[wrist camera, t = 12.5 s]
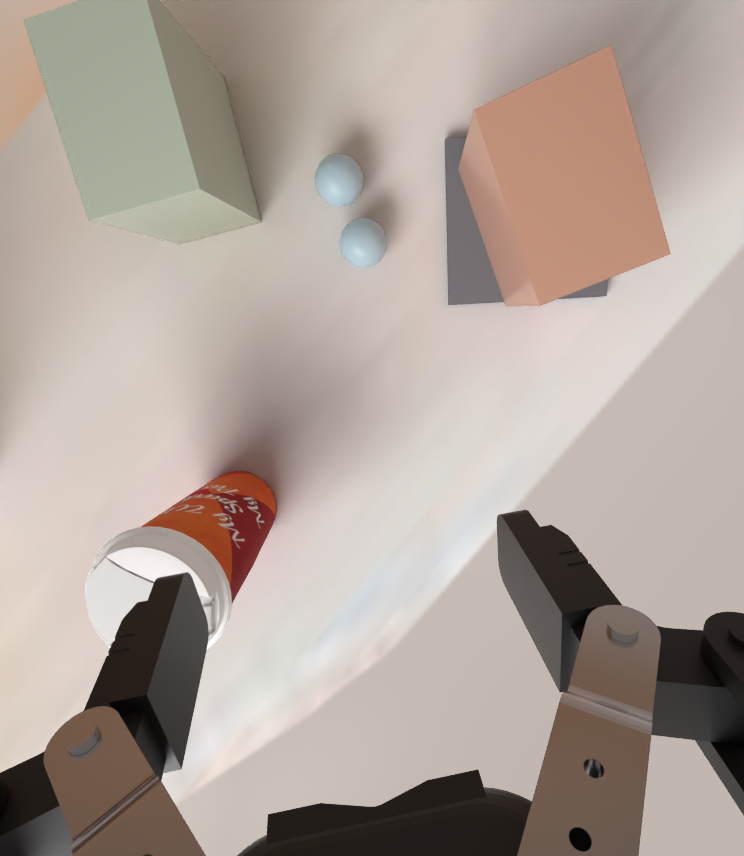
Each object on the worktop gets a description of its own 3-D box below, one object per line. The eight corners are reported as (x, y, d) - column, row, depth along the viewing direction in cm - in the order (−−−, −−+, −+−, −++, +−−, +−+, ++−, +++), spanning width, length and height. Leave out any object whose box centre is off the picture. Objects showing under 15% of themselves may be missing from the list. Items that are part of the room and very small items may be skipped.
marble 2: (344, 271, 35) (338, 267, 32) (341, 223, 34) (334, 216, 31) (389, 268, 35) (386, 264, 32) (387, 220, 34) (384, 212, 31)
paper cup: (293, 463, 38) (224, 548, 25) (287, 558, 40) (220, 685, 27) (191, 451, 39) (68, 527, 25) (190, 545, 41) (74, 664, 27)
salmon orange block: (597, 269, 33) (670, 253, 23) (505, 306, 34) (540, 305, 24) (552, 126, 31) (611, 44, 22) (458, 168, 32) (474, 109, 23)
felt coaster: (448, 305, 35) (448, 304, 34) (445, 141, 33) (445, 138, 32) (603, 296, 34) (606, 296, 33) (610, 127, 32) (614, 123, 31)
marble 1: (321, 212, 34) (312, 203, 31) (318, 163, 34) (308, 149, 31) (366, 209, 34) (361, 199, 31) (364, 159, 33) (358, 144, 30)
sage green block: (261, 221, 35) (199, 188, 25) (178, 244, 36) (88, 220, 26) (223, 75, 33) (141, -22, 23) (137, 102, 34) (23, 19, 24)
